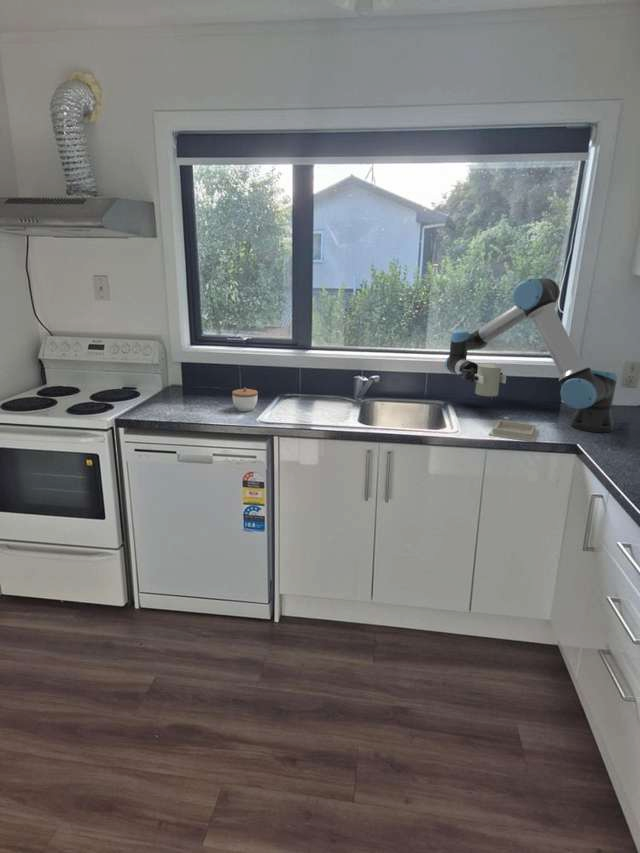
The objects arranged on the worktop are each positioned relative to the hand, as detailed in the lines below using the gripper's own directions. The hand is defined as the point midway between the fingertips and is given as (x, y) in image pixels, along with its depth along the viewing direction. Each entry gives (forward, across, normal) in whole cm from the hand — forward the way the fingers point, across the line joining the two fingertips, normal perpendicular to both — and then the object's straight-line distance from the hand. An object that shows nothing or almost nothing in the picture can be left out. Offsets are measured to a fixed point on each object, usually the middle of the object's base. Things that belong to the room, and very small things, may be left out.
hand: (494, 380), depth 213 cm
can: (-5, 0, -7) cm, 8 cm away
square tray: (+13, -3, -18) cm, 22 cm away
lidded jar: (-35, +95, -18) cm, 103 cm away
